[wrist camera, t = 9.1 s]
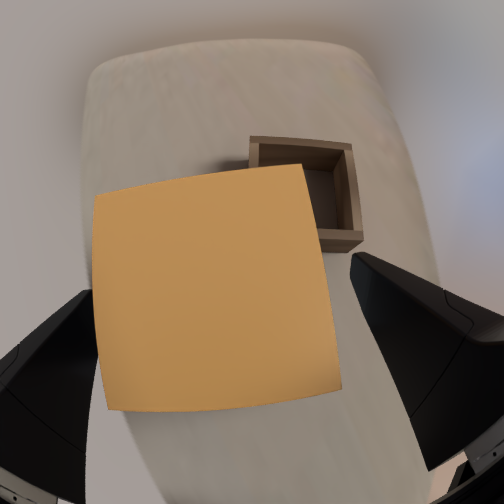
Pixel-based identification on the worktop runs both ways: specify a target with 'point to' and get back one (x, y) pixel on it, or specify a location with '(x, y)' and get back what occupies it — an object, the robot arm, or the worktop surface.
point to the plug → (212, 293)
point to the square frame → (324, 159)
